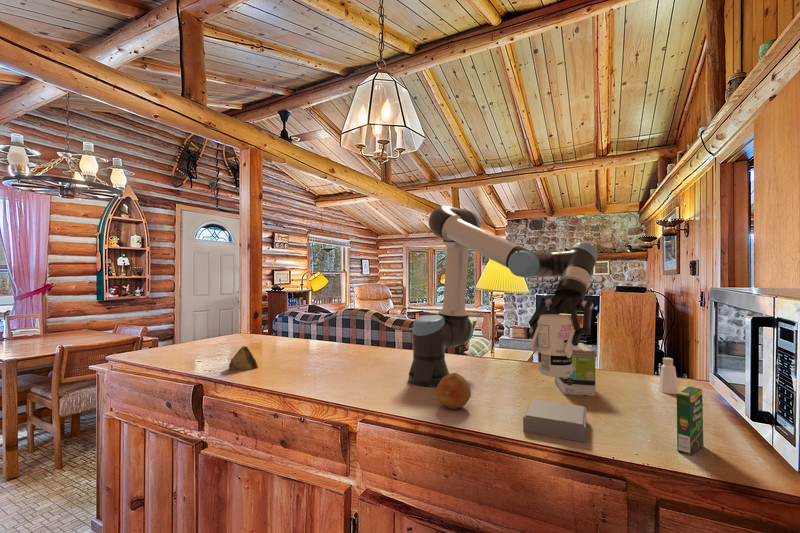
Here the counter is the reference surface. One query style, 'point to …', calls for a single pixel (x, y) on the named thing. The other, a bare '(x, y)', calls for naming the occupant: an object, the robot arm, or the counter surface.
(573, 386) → the tea box
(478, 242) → the robot arm
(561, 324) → the supplement can
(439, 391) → the onion
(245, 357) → the rock
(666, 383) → the pepper shaker
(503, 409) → the counter surface
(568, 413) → the base block
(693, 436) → the coffee box
